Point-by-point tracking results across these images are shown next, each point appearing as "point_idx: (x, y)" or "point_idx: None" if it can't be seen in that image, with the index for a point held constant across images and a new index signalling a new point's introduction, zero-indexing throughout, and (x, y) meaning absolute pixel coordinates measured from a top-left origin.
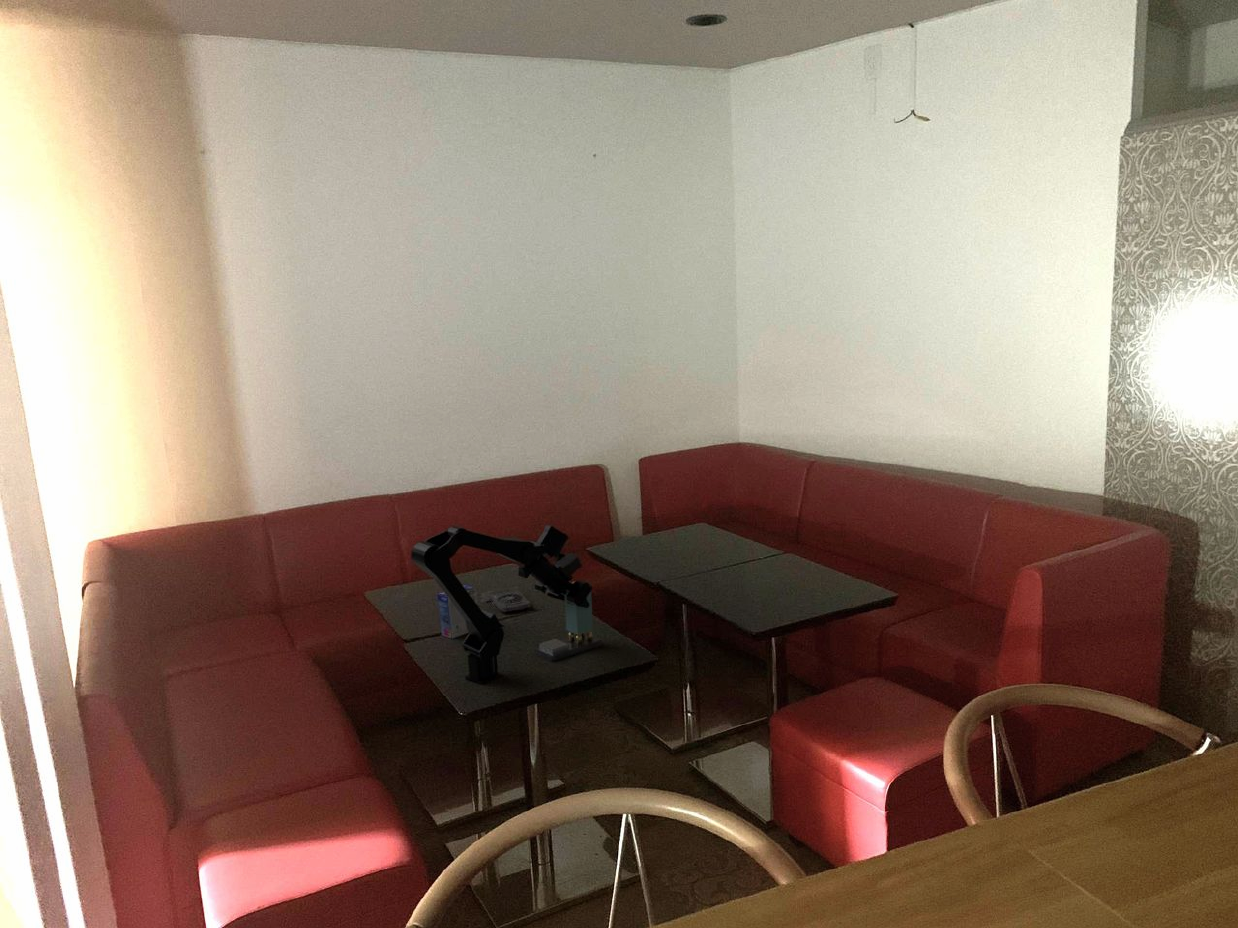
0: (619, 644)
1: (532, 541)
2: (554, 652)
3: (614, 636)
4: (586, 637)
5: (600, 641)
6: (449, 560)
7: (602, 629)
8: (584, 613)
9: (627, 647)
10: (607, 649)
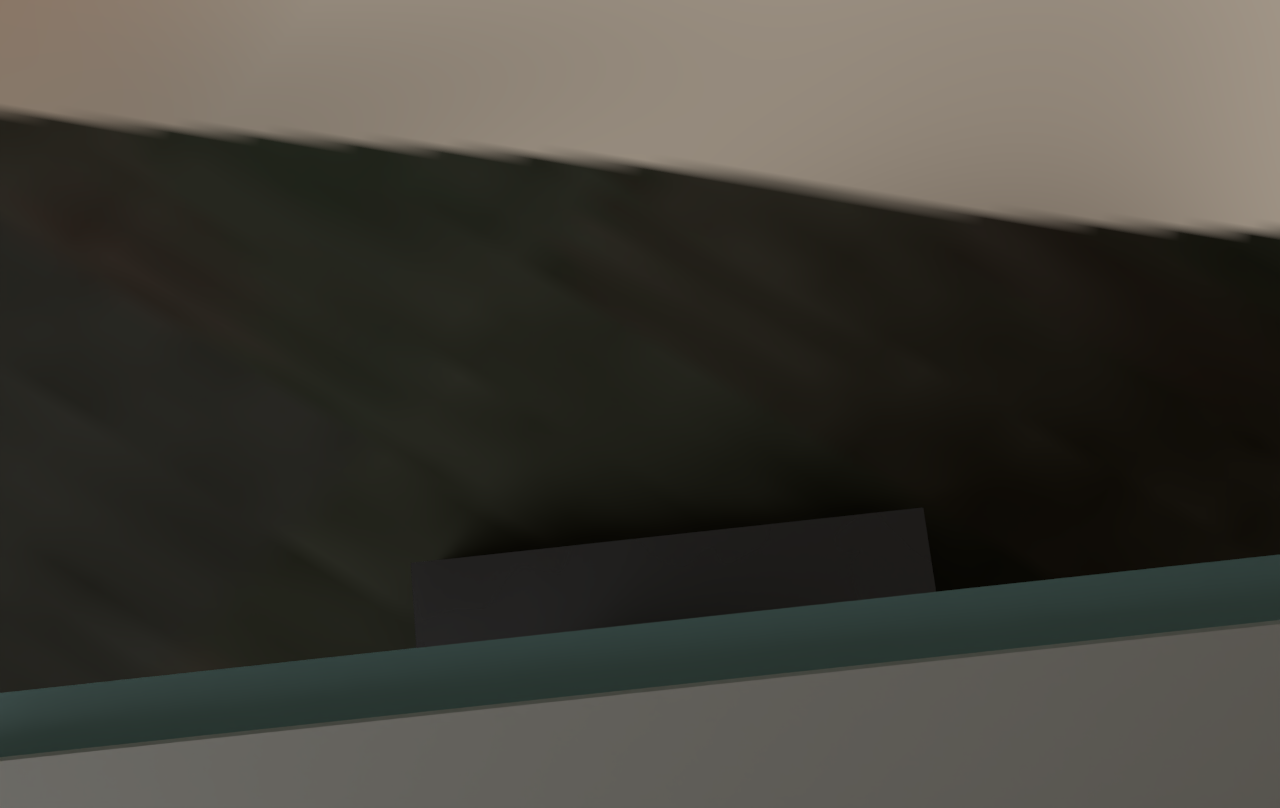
0: (1043, 304)
1: None
2: None
3: (697, 187)
4: None
5: (922, 546)
6: None
7: (319, 170)
8: None
9: (1229, 279)
10: (1121, 556)
